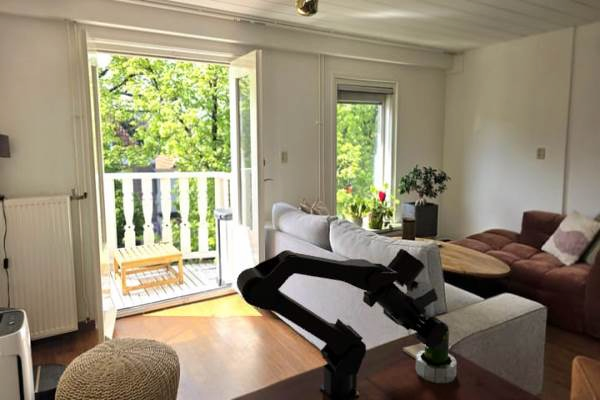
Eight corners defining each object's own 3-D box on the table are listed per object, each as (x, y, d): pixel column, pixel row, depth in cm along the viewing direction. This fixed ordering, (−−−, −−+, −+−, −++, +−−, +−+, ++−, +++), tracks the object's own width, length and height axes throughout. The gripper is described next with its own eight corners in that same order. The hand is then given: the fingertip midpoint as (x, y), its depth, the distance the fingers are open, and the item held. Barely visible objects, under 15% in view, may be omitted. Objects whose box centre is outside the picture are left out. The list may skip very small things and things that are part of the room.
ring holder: (434, 386, 94) (435, 372, 94) (408, 367, 102) (408, 354, 102) (463, 377, 98) (464, 363, 98) (436, 359, 106) (436, 346, 106)
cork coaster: (419, 362, 105) (419, 359, 105) (402, 350, 111) (403, 347, 110) (439, 356, 107) (439, 353, 107) (422, 345, 113) (422, 342, 113)
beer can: (451, 373, 100) (454, 325, 98) (439, 381, 96) (441, 332, 95) (432, 364, 104) (434, 318, 102) (419, 371, 100) (421, 324, 99)
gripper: (442, 287, 86) (483, 329, 91) (394, 262, 104) (431, 299, 108) (408, 329, 85) (451, 369, 90) (366, 297, 102) (404, 332, 107)
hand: (434, 339), depth 99 cm, fingers open, 9 cm apart
